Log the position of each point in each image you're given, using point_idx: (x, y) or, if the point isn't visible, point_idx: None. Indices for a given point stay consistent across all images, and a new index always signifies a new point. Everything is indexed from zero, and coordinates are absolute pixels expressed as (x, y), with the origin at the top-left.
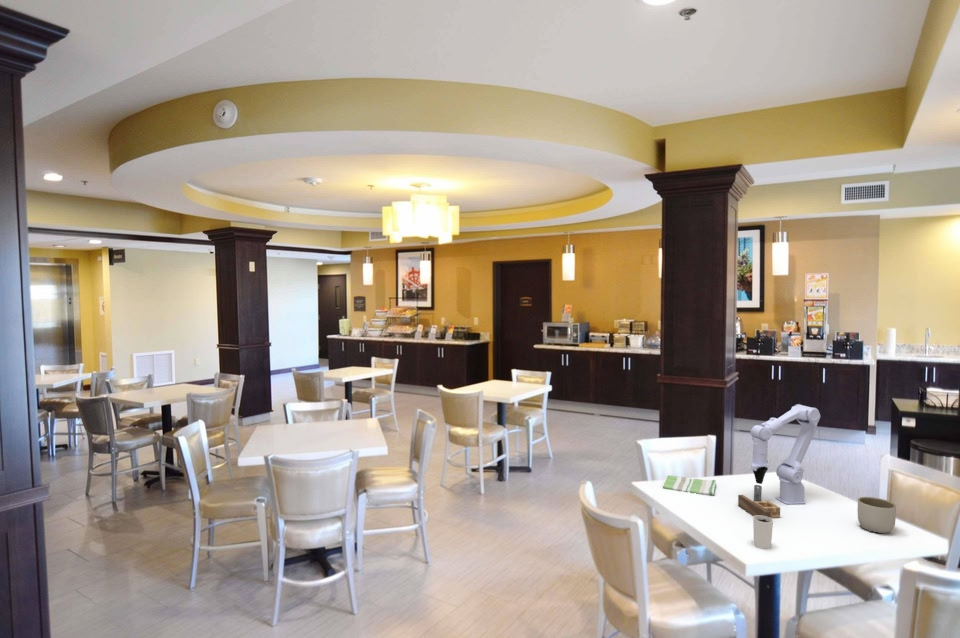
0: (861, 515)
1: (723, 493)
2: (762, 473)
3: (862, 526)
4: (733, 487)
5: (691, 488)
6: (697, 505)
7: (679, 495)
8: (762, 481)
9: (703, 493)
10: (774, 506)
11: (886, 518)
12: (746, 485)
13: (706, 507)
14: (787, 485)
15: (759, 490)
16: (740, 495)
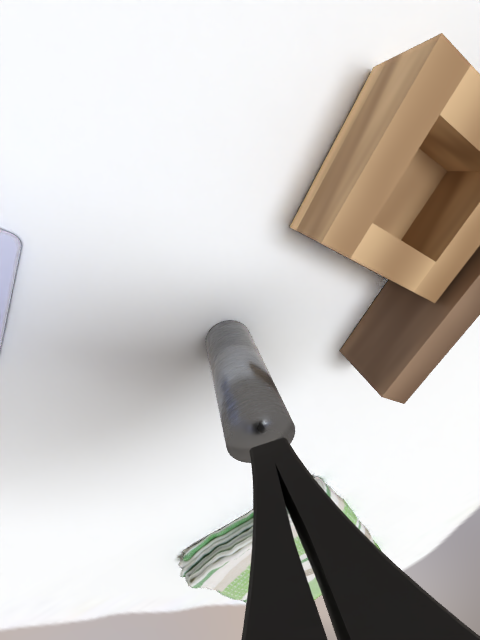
0: None
1: (244, 487)
2: (440, 607)
3: None
4: (116, 531)
5: None
6: (471, 420)
7: (408, 501)
8: (271, 465)
9: (337, 497)
10: (436, 110)
11: None
12: (7, 543)
13: (473, 395)
14: None
15: (271, 389)
16: (406, 392)
